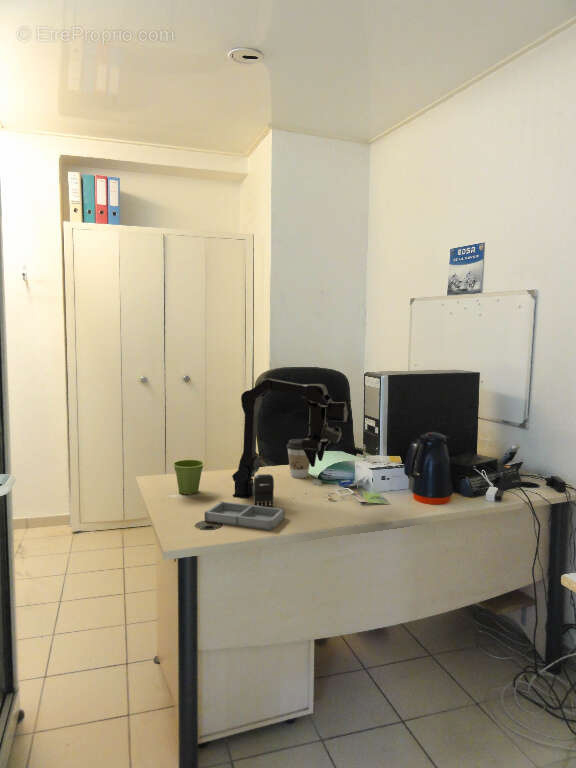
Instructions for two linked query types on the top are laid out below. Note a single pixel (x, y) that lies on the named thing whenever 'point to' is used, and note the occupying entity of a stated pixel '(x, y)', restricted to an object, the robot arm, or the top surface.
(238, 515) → the divided tray
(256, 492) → the battery charger
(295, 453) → the coffee cup
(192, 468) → the plant pot
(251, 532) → the top surface
